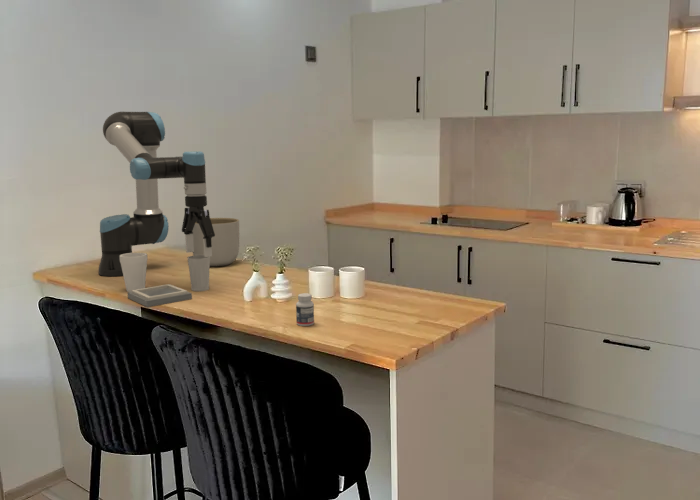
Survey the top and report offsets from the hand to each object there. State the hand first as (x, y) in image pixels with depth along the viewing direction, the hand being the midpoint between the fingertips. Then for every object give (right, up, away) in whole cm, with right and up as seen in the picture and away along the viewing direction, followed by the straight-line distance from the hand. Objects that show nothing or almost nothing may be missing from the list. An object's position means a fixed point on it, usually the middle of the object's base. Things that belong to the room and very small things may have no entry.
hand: (198, 254), depth 235 cm
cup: (0, -13, +3) cm, 13 cm away
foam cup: (-24, -13, +2) cm, 27 cm away
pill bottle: (+41, -21, -42) cm, 62 cm away
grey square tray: (-11, -15, -11) cm, 22 cm away
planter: (-4, -5, +49) cm, 49 cm away
